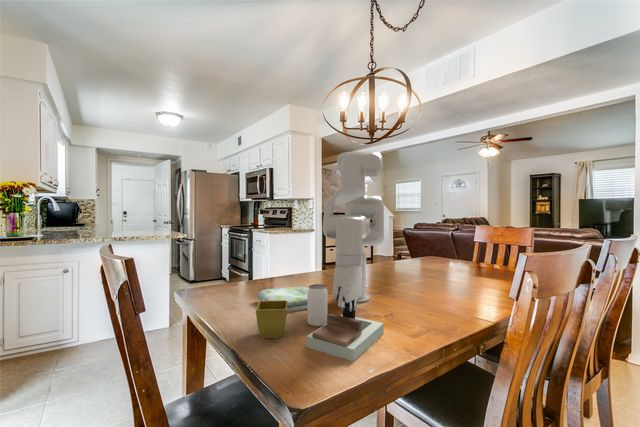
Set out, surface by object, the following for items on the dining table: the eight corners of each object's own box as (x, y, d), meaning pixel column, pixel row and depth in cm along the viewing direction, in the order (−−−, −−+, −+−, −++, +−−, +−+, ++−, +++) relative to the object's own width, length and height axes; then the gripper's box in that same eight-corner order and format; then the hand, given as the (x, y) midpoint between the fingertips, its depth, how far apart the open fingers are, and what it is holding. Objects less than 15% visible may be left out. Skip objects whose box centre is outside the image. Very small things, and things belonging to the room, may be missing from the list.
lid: (329, 325, 87) (329, 313, 87) (361, 333, 82) (361, 320, 81) (312, 337, 79) (312, 323, 79) (345, 346, 74) (345, 331, 74)
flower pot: (259, 329, 93) (259, 300, 92) (287, 328, 93) (287, 299, 93) (255, 342, 84) (255, 310, 84) (287, 341, 85) (287, 309, 84)
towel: (325, 306, 116) (325, 293, 116) (274, 316, 105) (274, 302, 105) (303, 295, 131) (303, 283, 131) (256, 302, 120) (256, 290, 120)
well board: (342, 323, 97) (342, 314, 97) (383, 333, 90) (383, 323, 90) (306, 347, 81) (306, 336, 81) (353, 361, 73) (353, 349, 73)
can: (325, 327, 94) (325, 289, 94) (305, 326, 95) (305, 288, 95) (329, 320, 100) (329, 284, 100) (310, 318, 102) (310, 283, 102)
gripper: (349, 255, 94) (349, 313, 95) (323, 262, 82) (323, 329, 82) (371, 257, 90) (371, 318, 90) (348, 265, 78) (348, 336, 78)
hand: (348, 323), depth 86 cm, fingers closed
